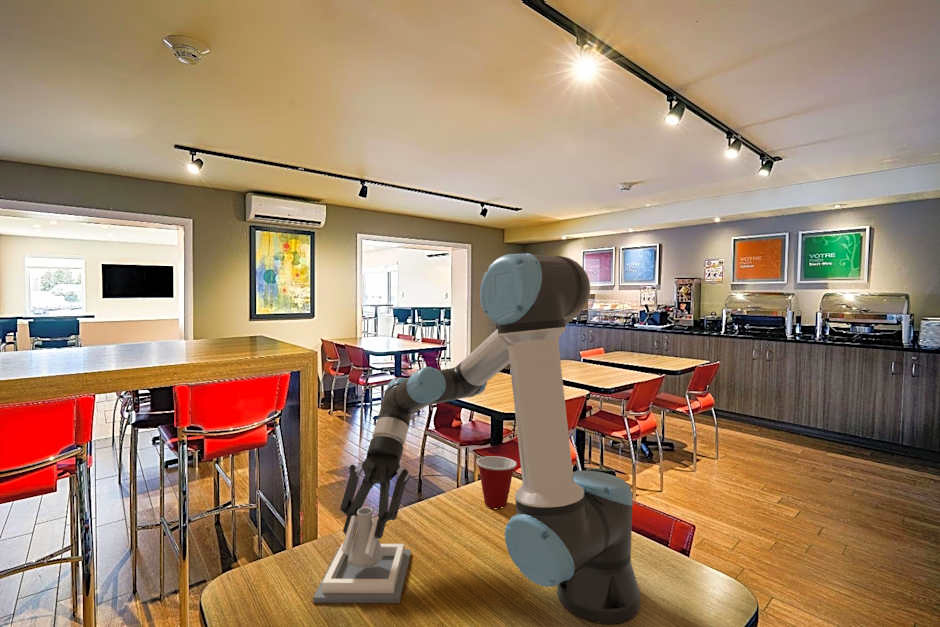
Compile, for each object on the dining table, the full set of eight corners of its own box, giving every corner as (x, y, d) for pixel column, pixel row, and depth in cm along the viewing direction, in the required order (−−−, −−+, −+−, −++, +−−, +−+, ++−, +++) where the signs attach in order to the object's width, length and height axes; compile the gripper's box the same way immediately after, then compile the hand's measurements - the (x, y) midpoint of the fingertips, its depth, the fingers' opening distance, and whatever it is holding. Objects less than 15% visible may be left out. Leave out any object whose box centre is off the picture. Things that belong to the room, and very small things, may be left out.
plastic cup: (523, 501, 128) (523, 458, 127) (504, 517, 119) (504, 471, 118) (488, 491, 134) (489, 450, 133) (468, 507, 125) (468, 462, 124)
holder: (410, 553, 103) (410, 540, 103) (399, 603, 87) (399, 587, 87) (337, 553, 103) (337, 540, 103) (313, 602, 87) (312, 587, 87)
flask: (375, 571, 91) (374, 521, 90) (340, 566, 92) (339, 517, 92) (389, 550, 98) (388, 504, 97) (356, 546, 99) (356, 500, 99)
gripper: (427, 452, 107) (403, 564, 92) (357, 446, 111) (323, 554, 95) (420, 437, 102) (394, 553, 87) (347, 431, 105) (309, 543, 90)
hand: (357, 553), depth 91 cm, fingers closed on flask, 4 cm apart
